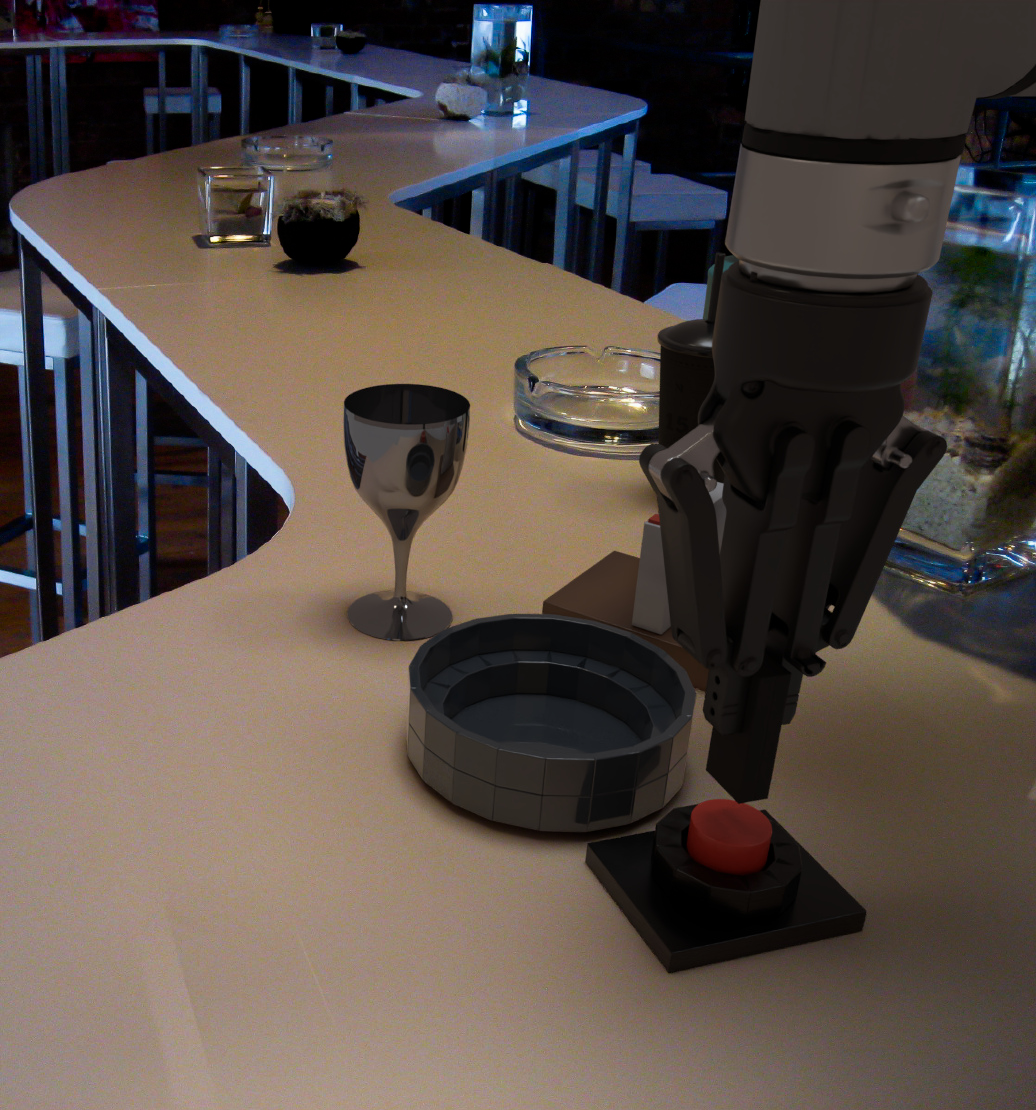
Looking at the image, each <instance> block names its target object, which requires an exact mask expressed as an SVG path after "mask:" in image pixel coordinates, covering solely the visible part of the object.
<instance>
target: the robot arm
mask: <svg viewBox="0 0 1036 1110" xmlns="http://www.w3.org/2000/svg"><path fill="white" fill-rule="evenodd" d="M752 55H753V56H752V63H751V69H750V77H749V85H748V93H747V99H746V106H745V107H746V108H745V116H744V121H745V122H744V123H745V124H744V127H743V133H742V139H741V143H740V146H739V152H738V159H737V166H736V171H735V178H734V184H733V190H732V197H731V201H730V209H729V215H728V221H727V229H726V234H725V237H726V240H725V239H724V245H725V247H726V248H727V250H728V251H729V252H730V253H731V254H732V255H734V256H735V257H737V258H738V259H739V261H737V262H734V263H733V264H732V265H730V266H729V268H728V269H727V270H725V271H724V272H723V274H722V277H721V284H720V291H719V298H718V305H717V312H716V319H715V326H714V333H713V340H712V353H713V360H714V368H715V379H714V382H713V385H712V388H711V390H710V392H709V394H708V395H707V397H706V399H705V400H704V402H703V403H702V405H701V407H700V410H699V414H698V426H697V427H696V428H695V429H693V430H692V431H691V432H689V433H688V434H687V435H685V436H684V437H683V438H681V439H680V440H678V441H677V442H676V443H674V444H673V445H672V446H670V447H669V448H665V447H664V446H662V445H660V444H658V443H650V444H649V445H646V446H645V448H643V449H642V451H641V452H640V455H639V458H638V463H639V466H640V468H641V470H642V472H643V473H644V476H645V478H646V480H647V481H648V483H649V485H650V486H651V488H652V491H653V492H654V493H655V495H656V501H657V502H656V503H657V511H658V513H659V520H660V530H661V539H662V548H663V557H664V567H665V576H666V585H667V595H668V604H669V613H670V623H671V632H672V637H673V639H674V640H675V641H676V642H677V643H679V644H680V645H681V646H682V647H683V648H684V649H685V650H686V651H687V652H688V653H689V654H691V655H692V656H693V657H694V658H695V659H696V660H697V661H698V662H700V663H701V664H702V665H703V666H704V667H705V668H706V669H709V673H708V679H707V686H706V692H705V691H704V692H705V693H704V699H703V705H702V714H703V716H704V720H705V721H707V722H708V724H710V725H711V728H712V729H711V734H710V740H709V741H710V742H709V747H708V753H707V759H706V766H705V771H706V772H707V773H708V774H709V775H710V776H711V778H712V779H713V780H714V781H716V783H718V784H719V786H720V787H722V789H723V790H724V791H725V792H726V793H727V794H728V795H729V797H731V798H732V800H734V801H736V802H737V803H738V804H741V803H745V804H747V803H751V802H757V801H762V800H763V801H764V800H768V799H769V795H770V790H771V789H770V788H771V784H772V778H773V773H774V767H775V762H776V758H777V752H778V748H779V742H780V736H781V731H782V726H786V725H790V724H791V722H792V720H793V719H794V717H795V716H796V713H797V707H798V702H799V698H800V693H801V692H800V691H801V687H802V683H803V677H804V676H806V677H807V678H813V677H815V676H818V675H819V674H820V673H822V671H823V670H824V669H825V668H826V664H827V661H825V660H824V659H823V658H821V657H820V656H818V655H817V653H818V652H820V651H822V650H823V649H826V648H828V647H831V648H832V649H835V650H842V649H844V648H846V647H847V646H848V645H850V643H852V641H853V640H854V637H855V635H856V633H857V630H858V627H859V625H860V624H861V621H862V619H863V616H864V614H865V612H866V609H867V607H868V605H869V602H870V600H871V598H872V596H873V593H874V591H875V589H876V586H877V584H878V582H879V579H880V577H881V574H882V572H883V571H884V568H885V566H886V563H887V561H888V558H889V557H890V553H891V552H892V549H893V547H894V545H895V542H896V540H897V538H898V535H899V533H900V530H901V528H902V526H903V524H904V521H905V519H906V517H907V515H908V512H909V510H910V508H911V505H912V504H913V501H914V498H915V496H916V494H917V492H918V490H919V489H920V487H921V486H922V485H923V484H924V482H925V481H926V480H927V479H928V477H929V476H930V475H931V473H932V472H933V471H934V469H935V468H936V467H937V466H938V464H939V463H940V461H941V460H942V459H943V457H944V456H945V455H946V452H947V449H948V443H947V440H946V439H945V437H943V436H940V435H939V434H936V433H935V432H933V431H930V430H928V429H926V428H924V427H922V426H920V425H917V424H915V423H913V422H912V421H911V420H910V419H908V418H907V417H906V416H904V413H905V407H906V402H905V398H904V397H905V396H904V393H903V391H902V385H901V384H903V383H904V382H905V381H907V380H909V379H910V378H911V377H912V375H914V373H915V372H916V370H917V368H918V364H919V360H920V359H919V358H920V354H921V349H922V345H923V340H924V336H925V331H926V327H927V322H928V318H929V313H930V308H931V304H932V299H933V293H934V292H933V290H932V288H931V287H930V286H929V283H928V281H927V280H926V278H924V277H923V276H921V275H920V274H921V273H923V272H926V271H928V270H930V269H932V268H933V267H934V266H935V265H936V264H937V263H938V262H939V260H940V257H941V252H942V248H943V243H944V238H945V234H946V229H947V225H948V224H947V223H948V220H949V215H950V210H951V205H952V201H953V195H954V192H955V186H956V182H957V177H958V172H959V168H960V163H961V159H962V155H963V153H964V150H965V144H966V141H967V133H968V131H969V127H970V124H971V120H972V116H973V112H974V109H975V105H976V101H977V100H997V99H1003V98H1007V97H1036V0H760V3H759V10H758V16H757V25H756V32H755V41H754V49H753V54H752ZM715 458H716V459H717V461H718V463H719V465H720V466H721V468H722V470H723V472H724V473H725V478H724V485H723V491H722V499H723V503H724V505H725V507H726V519H725V525H724V532H723V538H722V544H721V551H720V554H719V542H718V530H717V519H716V512H715V508H714V504H713V500H712V498H711V496H710V494H709V492H711V491H713V490H714V489H715V488H716V486H717V480H716V479H715V478H714V469H713V463H714V460H715ZM831 606H832V607H833V609H832V611H831V610H830V607H831Z"/></svg>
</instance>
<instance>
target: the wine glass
mask: <svg viewBox="0 0 1036 1110" xmlns="http://www.w3.org/2000/svg"><path fill="white" fill-rule="evenodd" d="M342 406H343V412H342V426H343V428H342V429H343V446H344V447H343V448H344V452H345V453H344V454H345V461H346V466H347V469H348V474H349V477H350V481H351V483H352V486H353V489H354V490H355V492H356V493H357V495H358V496H359V497H360V499H361V500H362V501H363V502H364V503H365V504H366V505H367V506H368V508H369V509H370V510H371V511H372V512H373V513H374V514H375V515H376V516H377V517H378V519H380V521H381V522H382V524H383V525H384V526H385V528H386V529H387V532H388V534H389V536H390V538H391V542H392V551H393V561H394V589H391V590H380V591H375V592H371V593H368V594H367V593H366V594H365V595H362V596H360V597H358V598H357V599H355V600H354V601H352V603H350V605H349V606H348V608H347V610H346V618H347V620H348V622H349V624H351V626H352V627H354V629H356V630H358V631H360V632H362V633H363V634H365V635H368V636H371V637H374V638H377V639H383V640H387V641H399V642H400V641H402V642H403V641H418V640H424V639H428V638H432V637H434V636H435V635H436V634H438V633H439V632H441V631H442V630H444V629H447V628H450V627H451V624H452V622H453V618H454V617H453V616H454V615H453V612H452V610H451V608H450V607H449V606H448V605H447V604H446V603H445V602H443V601H442V600H440V599H438V598H436V597H434V596H432V595H429V594H426V593H423V592H419V591H411V590H407V581H408V580H407V579H408V578H407V577H408V567H409V562H410V561H409V559H410V553H411V549H412V544H413V541H414V538H415V536H416V534H417V532H418V530H420V528H421V526H422V525H423V524H424V523H425V522H426V521H427V520H428V519H429V518H430V517H431V516H432V515H433V514H434V513H436V511H437V510H438V509H439V508H441V506H442V505H444V504H445V502H446V501H447V500H448V499H449V498H450V496H452V494H453V493H454V491H455V489H456V488H457V485H458V483H459V480H460V477H461V474H462V471H463V467H464V463H465V459H466V454H467V450H468V445H469V444H468V443H469V435H470V426H471V403H470V401H469V400H468V398H467V397H465V396H464V395H462V394H460V393H459V392H456V391H454V390H451V389H447V388H444V387H439V386H434V385H428V384H421V383H420V384H418V383H388V384H387V383H386V384H378V385H373V386H367V387H364V388H361V389H358V390H355V391H353V392H351V393H350V394H348V395H347V396H346V397H345V399H344V401H343V405H342Z"/></svg>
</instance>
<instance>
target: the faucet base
mask: <svg viewBox="0 0 1036 1110" xmlns="http://www.w3.org/2000/svg"><path fill="white" fill-rule="evenodd" d="M639 561H640V557H638V556H634V555H631V554H628V553H625V552H621V551H617V550H613V551H611V552H610V553H609V554H607V555H606V556H604V557H603V558H602V559H600V560H599V561H597V562H596V563H595V564H593V565H592V566H590V567H589V568H587V569H586V570H585V571H584V572H581V573H580V574H579V575H577V576H576V577H575V578H573V579H572V580H571V581H569V582H568V583H567V584H565V585H564V586H562V587H561V588H560V589H558V590H557V591H555V592H554V593H552V594H551V595H550V596H548V597H547V598H545V599H544V600H543V601H542V608H541V609H542V611H541V614H555V615H561V616H567V617H574V618H580V619H586V620H592V621H597V622H600V623H603V624H606V625H609V626H612V627H615V628H618V629H622V630H625V631H628V632H631V633H633V634H635V635H636V636H638V637H640V638H642V639H644V640H646V641H648V642H649V643H651V644H653V645H655V646H657V647H659V648H661V649H662V650H664V651H665V652H666V653H667V654H668V655H669V656H671V657H672V658H673V659H674V660H675V661H676V662H677V663H678V664H679V665H680V666H681V667H682V668H684V669H685V671H686V672H687V674H688V676H689V679H690V681H691V683H692V685H693V688H694V689H696V690H699V691H701V692H702V691H703V692H706V686H707V679H708V673H709V669H706V668H705V667H704V666H703V665H702V664H701V663H700V662H698V661H697V660H696V659H695V658H694V657H693V656H692V655H691V654H689V653H688V652H687V651H686V650H685V649H684V648H683V647H682V646H681V645H680V644H679V643H677V642H676V641H675V640H674V639H673V637H672V632H671V627H670V628H668V629H667V630H666V631H665V632H664V633H663V634H657V633H654V632H651V631H648V630H645V629H642V628H639V627H636V626H633V625H632V618H633V610H634V602H635V594H636V586H637V578H638V570H639Z"/></svg>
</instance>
